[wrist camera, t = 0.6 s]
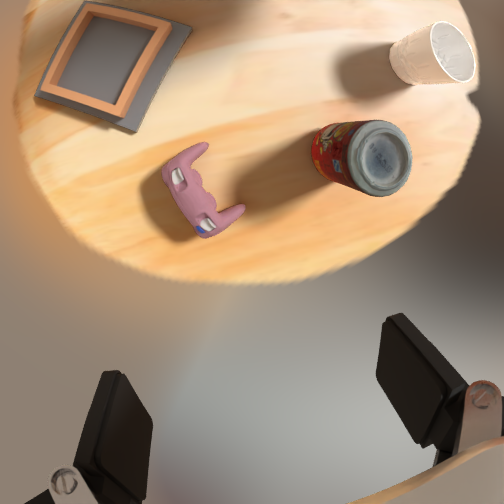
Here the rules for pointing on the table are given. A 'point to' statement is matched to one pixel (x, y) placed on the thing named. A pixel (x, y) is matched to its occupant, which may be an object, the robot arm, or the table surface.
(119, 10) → the cradle jig
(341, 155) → the soda can
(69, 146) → the table surface
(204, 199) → the video game controller
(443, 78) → the white cup
